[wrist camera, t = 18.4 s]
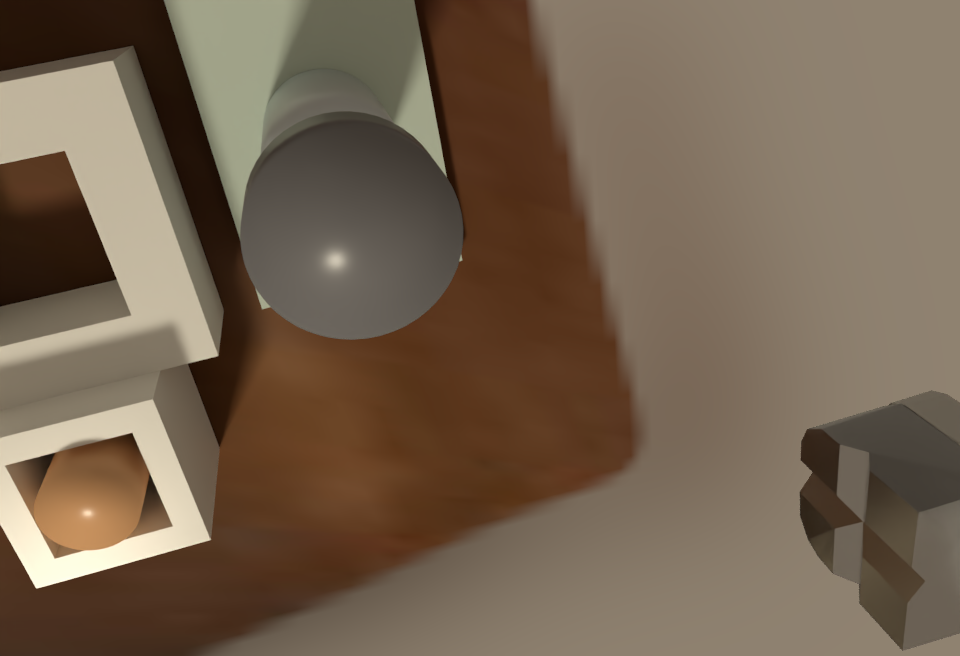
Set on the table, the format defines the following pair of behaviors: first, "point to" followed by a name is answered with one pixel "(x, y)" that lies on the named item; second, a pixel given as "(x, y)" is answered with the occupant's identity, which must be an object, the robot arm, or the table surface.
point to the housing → (108, 318)
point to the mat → (296, 68)
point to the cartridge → (346, 212)
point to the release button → (93, 494)
